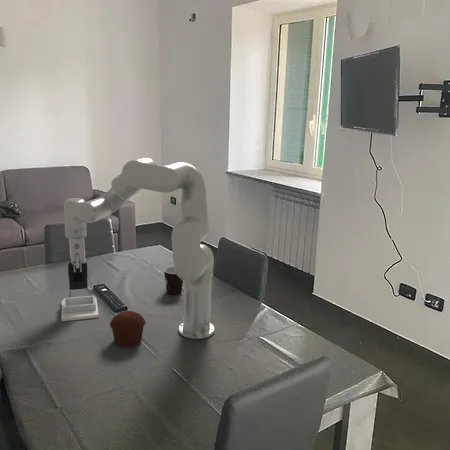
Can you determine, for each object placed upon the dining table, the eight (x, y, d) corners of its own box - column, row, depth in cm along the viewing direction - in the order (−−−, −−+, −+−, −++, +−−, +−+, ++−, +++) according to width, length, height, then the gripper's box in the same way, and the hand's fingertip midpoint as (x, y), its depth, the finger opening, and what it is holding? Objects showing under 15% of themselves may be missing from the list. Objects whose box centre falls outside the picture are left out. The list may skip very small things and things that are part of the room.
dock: (98, 317, 170) (98, 308, 169) (61, 321, 166) (60, 312, 165) (95, 290, 194) (94, 282, 193) (62, 293, 190) (62, 284, 189)
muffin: (110, 351, 148) (109, 322, 145) (109, 334, 158) (108, 307, 155) (147, 347, 151) (147, 319, 148) (144, 331, 161) (144, 305, 159)
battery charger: (87, 285, 176) (86, 256, 173) (88, 288, 173) (87, 260, 170) (68, 287, 173) (66, 258, 171) (69, 290, 170) (67, 261, 167)
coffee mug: (183, 296, 191) (183, 274, 188) (162, 295, 191) (162, 273, 188) (186, 286, 202) (186, 264, 200) (166, 285, 202) (166, 263, 200)
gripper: (87, 238, 161) (89, 286, 166) (85, 225, 176) (87, 270, 181) (64, 239, 159) (67, 288, 163) (65, 226, 174) (67, 271, 179)
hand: (78, 278), depth 172 cm, fingers closed on battery charger, 4 cm apart
